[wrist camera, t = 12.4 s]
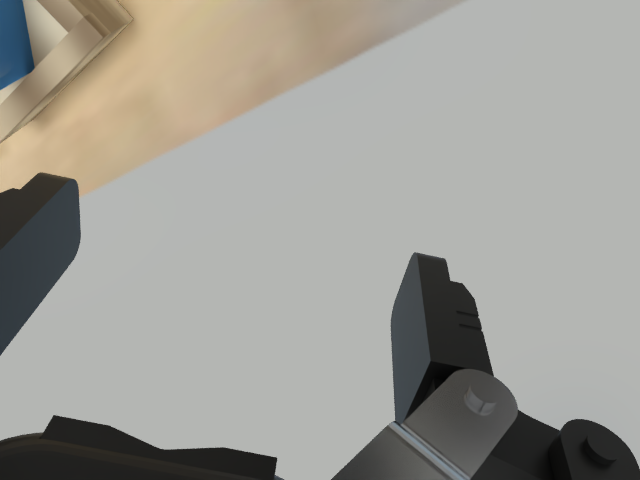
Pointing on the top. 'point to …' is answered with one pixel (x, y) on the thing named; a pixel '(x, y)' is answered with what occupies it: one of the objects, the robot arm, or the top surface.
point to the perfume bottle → (14, 43)
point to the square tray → (58, 53)
